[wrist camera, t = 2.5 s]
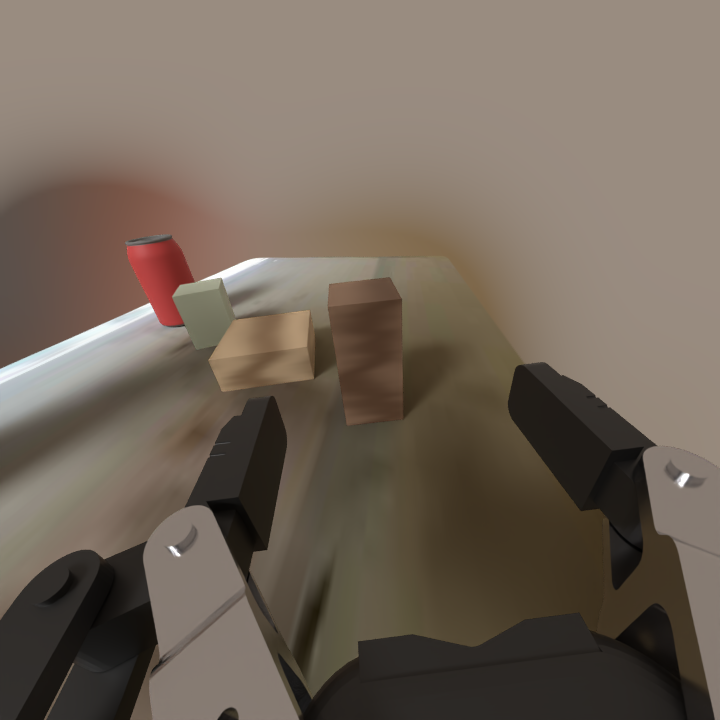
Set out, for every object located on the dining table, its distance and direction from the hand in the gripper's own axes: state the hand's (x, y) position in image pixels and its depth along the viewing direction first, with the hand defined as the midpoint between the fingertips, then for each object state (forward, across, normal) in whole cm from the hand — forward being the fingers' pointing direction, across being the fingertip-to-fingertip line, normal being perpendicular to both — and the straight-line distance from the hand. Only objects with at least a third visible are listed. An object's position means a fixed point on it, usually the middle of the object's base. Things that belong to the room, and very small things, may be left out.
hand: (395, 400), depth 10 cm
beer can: (+36, +27, +9) cm, 47 cm away
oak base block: (+20, +10, +10) cm, 25 cm away
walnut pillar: (+12, 0, +10) cm, 15 cm away
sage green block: (+28, +19, +9) cm, 36 cm away
